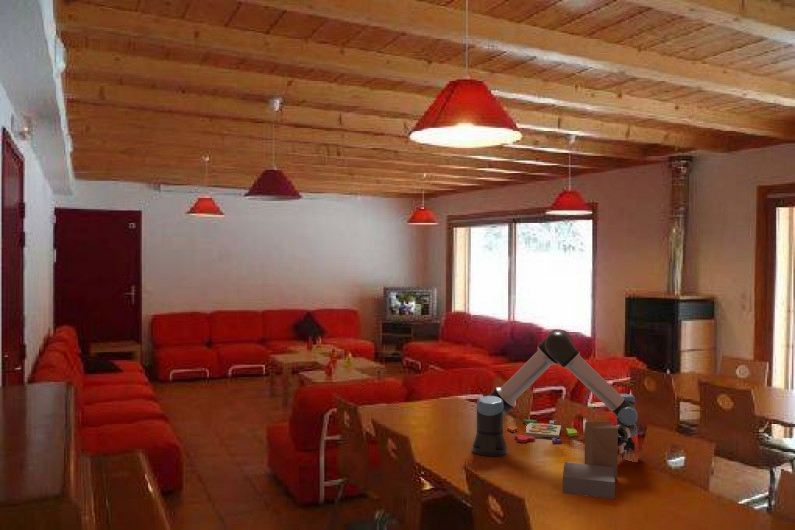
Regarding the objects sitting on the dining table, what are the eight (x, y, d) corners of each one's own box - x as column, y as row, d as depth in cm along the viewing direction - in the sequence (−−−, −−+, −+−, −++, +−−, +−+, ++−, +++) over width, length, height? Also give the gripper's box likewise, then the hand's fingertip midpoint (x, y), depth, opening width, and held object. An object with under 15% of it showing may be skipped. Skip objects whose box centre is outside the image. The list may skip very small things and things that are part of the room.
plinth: (562, 493, 234) (562, 476, 234) (564, 477, 251) (564, 462, 251) (614, 499, 228) (614, 482, 228) (613, 482, 246) (613, 466, 246)
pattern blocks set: (502, 423, 336) (502, 417, 336) (567, 424, 335) (567, 418, 335) (513, 443, 298) (513, 437, 298) (586, 445, 297) (586, 438, 297)
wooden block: (617, 479, 249) (618, 428, 249) (592, 479, 249) (592, 427, 249) (608, 471, 259) (609, 421, 259) (584, 470, 259) (584, 421, 259)
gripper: (649, 449, 266) (635, 462, 248) (589, 439, 280) (572, 450, 263) (649, 431, 265) (635, 442, 248) (589, 421, 280) (572, 432, 263)
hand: (602, 446), depth 255 cm, fingers open, 13 cm apart
